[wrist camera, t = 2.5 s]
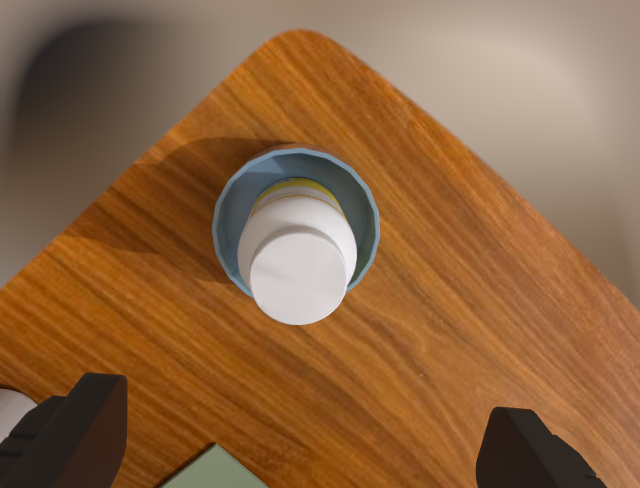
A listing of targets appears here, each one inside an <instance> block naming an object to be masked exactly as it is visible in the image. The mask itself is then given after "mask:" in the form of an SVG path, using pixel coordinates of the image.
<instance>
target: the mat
mask: <svg viewBox="0 0 640 488" xmlns="http://www.w3.org/2000/svg"><path fill="white" fill-rule="evenodd" d="M159 488H269V487H268V486H267V485H266V484H264V483H263V482H262V481H261V480H260V479H258V478H257V477H256V476H255V475H254V474H252V473H251V472H250V471H249V470H248V469H247V468H245V467H244V466H243V465H242V464H241V463H239V462H238V461H237V460H236V459H235V458H233V457H232V456H231V455H230V454H229V453H227V452H226V451H225V450H224V449H223V448H221V447H220V446H219V445H218V444H217V443H215V444H214V445H213V446H212V447H210V448H209V449H208V450H206V451H205V452H204V453H203V454H201V455H200V456H199V457H197V458H196V459H195V460H194V461H192V462H191V463H190V464H188V465H187V466H186V467H185V468H183V469H182V470H181V471H179V472H178V473H177V474H176V475H174V476H173V477H172V478H170V479H169V480H168V481H167V482H165V483H164V484H163V485H161V486H160V487H159Z"/></svg>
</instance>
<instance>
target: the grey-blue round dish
mask: <svg viewBox="0 0 640 488" xmlns="http://www.w3.org/2000/svg"><path fill="white" fill-rule="evenodd" d="M287 177H306V178H310V179H313V180H315V181H317V182H319V183H321V184H323V185H324V186H325V187H326V188H328V189H329V190H330V191H331V192H332V194H333V195H334V196H335V198H336V199H337V201H338V203H339V205H340V207H341V209H342V211H343V213H344V215H345V217H346V220H347V222H348V224H349V226H350V228H351V230H352V233H353V235H354V238H355V242H356V248H357V261H356V267H355V270H354V273H353V276H352V278H351V280H350V282H349V284H348V285H347V289H346V292H345V294H346V293H347V292H348V291H350V290H351V289H352V288H353V287H354V286H356V285H357V284H358V283H359V282H360V281H361V280H362V278H363V276H364V275H365V273H366V272H367V270H368V269H369V267H370V266H371V264H372V263H373V261H374V258H375V254H376V250H377V247H378V243H379V239H380V227H379V211H378V209H377V206H376V204H375V201H374V199H373V196H372V194H371V191H370V189H369V187H368V186H367V185H366V184H365V183H364V181H363V180H362V179H361V178H360V177H359V176H358V174H357V173H356V172H355V171H354V170H353V169H352V167H351V166H350V165H349V164H348V163H347V162H346V161H345V160H344V159H342V158H340V157H339V156H337V155H336V154H334V153H332V152H331V151H329V150H327V149H325V148H322V147H318V146H315V145H311V144H305V143H288V144H280V145H275V146H272V147H270V148H268V149H265V150H263V151H261V152H259V153H257V154H255V155H253V156H252V157H251V158H250V159H248V160H247V161H246V162H245V163H244V164H243V165H242V166H241V167H240V168H239V169H238V170H237V171H235V173H234V174H233V175H232V176H231V178H230V179H229V180H228V182H227V183H226V185H225V187H224V189H223V191H222V193H221V195H220V196H219V198H218V200H217V202H216V204H215V210H214V216H213V223H212V236H213V241H214V247H215V253H216V256H217V258H218V260H219V261H220V263H221V265H222V267H223V269H224V271H225V273H226V275H227V276H228V278H230V279H231V280H232V281H233V282H234V283H235V284H236V285H237V286H238V287H239V288H240V289H241V290H242V291H243V292H244V293H245V294H246V295H248V296H250V297H252V298H253V296H252V294H251V291H250V290H249V288H248V287H247V286H246V284H245V282H244V280H243V278H242V276H241V273H240V270H239V266H238V256H237V253H238V245H239V241H240V237H241V234H242V232H243V230H244V227H245V225H246V222H247V220H248V217H249V215H250V212H251V209H252V207H253V204H254V202H255V200H256V199H257V197H258V195H259V194H260V193H261V192H262V191H263V190H264V189H265V188H266V187H267V186H268V185H270V184H272V183H273V182H275V181H277V180H280V179H283V178H287Z"/></svg>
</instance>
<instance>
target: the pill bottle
mask: <svg viewBox="0 0 640 488" xmlns="http://www.w3.org/2000/svg"><path fill="white" fill-rule="evenodd" d="M237 256H238V266H239V270H240V273H241V276H242V278H243V280H244V282H245V284H246V286H247V287H248V288H249V290H250V291H251V294H252V296H253V298H254V300H255V302H256V303H257V305H258V306H259V307H260V309H261V310H262V311H263V312H264V313H266V314H267V315H268V316H270V317H271V318H273V319H275V320H277V321H279V322H282V323H286V324H292V325H304V324H309V323H314V322H316V321H319V320H321V319H323V318H325V317H326V316H328V315H329V314H330V313H332V312H333V311H334V310H335V309H336V308H337V307H338V305H339V304H340V302H341V301H342V299H343V297H344V295H345V292H346V289H347V285H348V284H349V282H350V280H351V278H352V276H353V273H354V270H355V267H356V261H357V248H356V242H355V238H354V235H353V233H352V230H351V228H350V226H349V224H348V222H347V220H346V217H345V215H344V213H343V211H342V209H341V207H340V205H339V203H338V201H337V199H336V198H335V196H334V195H333V194H332V192H331V191H330V190H329V189H328V188H326V187H325V186H324V185H323V184H321V183H319V182H317V181H315V180H313V179H310V178H306V177H287V178H283V179H280V180H277V181H275V182H273V183H272V184H270V185H268V186H267V187H266V188H265V189H264V190H263V191H262V192H261V193H260V194H259V195H258V197H257V199H256V200H255V202H254V204H253V207H252V209H251V212H250V215H249V217H248V220H247V222H246V225H245V227H244V230H243V232H242V234H241V237H240V241H239V245H238V253H237Z"/></svg>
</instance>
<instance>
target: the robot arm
mask: <svg viewBox="0 0 640 488" xmlns="http://www.w3.org/2000/svg"><path fill="white" fill-rule="evenodd" d="M126 441H127V378H126V376H125V375H114V374H101V373H89V372H87V373H85V374H84V375H83V376H82V377H81V379H80V380H79V381H78V383H77V384H76V385H75V387H74V388H73V389H72V390H71V392H70V393H69V394H68V396H67V397H62V396H52V397H50V398H49V399H47V400H45V401H44V402H42V403H41V404H39V405H38V406H36V407H34V408H33V409H31V410H30V411H28V412H27V413H26V414H25V415H24V416H23V418H22V419H21V420H20V421H19V422H18V423H17V425H16V426H15V427H14V428H13V429H12V430H11V432H10V433H9V436H8V437H5V439H4V440H3V441H2V442H1V443H0V488H110V487H111V485H112V483H113V481H114V479H115V477H116V475H117V472H118V470H119V468H120V465H121V463H122V460H123V456H124V452H125V447H126ZM476 480H477V485H478V488H607V487H606V486H605V484H604V483H603V482H602V481H601V479H600V478H597V477H596V473H595V472H594V471H593V470H592V468H591V467H590V466H589V465H588V463H587V462H586V461H585V460H584V459H583V457H582V456H581V455H580V454H579V453H578V452H577V451H576V450H574V449H573V448H572V447H571V446H569V445H568V444H567V443H566V442H564V441H563V440H562V439H560V438H559V437H558V436H557V435H552V434H551V432H550V431H549V430H548V428H547V427H546V426H545V425H544V423H543V422H542V421H541V419H540V418H539V417H538V416H537V414H536V413H535V412H534V411H532V410H530V409H521V408H509V407H495V408H494V409H493V410H492V412H491V414H490V417H489V421H488V424H487V428H486V431H485V434H484V438H483V441H482V445H481V448H480V451H479V455H478V458H477V462H476Z"/></svg>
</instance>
